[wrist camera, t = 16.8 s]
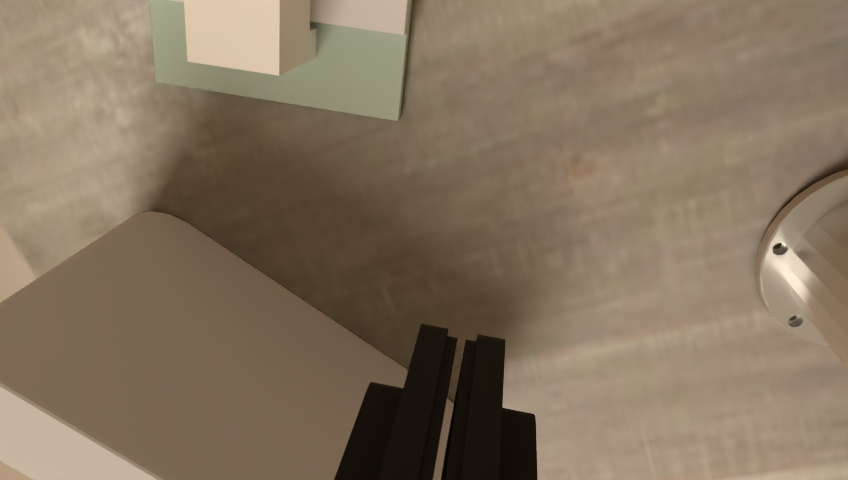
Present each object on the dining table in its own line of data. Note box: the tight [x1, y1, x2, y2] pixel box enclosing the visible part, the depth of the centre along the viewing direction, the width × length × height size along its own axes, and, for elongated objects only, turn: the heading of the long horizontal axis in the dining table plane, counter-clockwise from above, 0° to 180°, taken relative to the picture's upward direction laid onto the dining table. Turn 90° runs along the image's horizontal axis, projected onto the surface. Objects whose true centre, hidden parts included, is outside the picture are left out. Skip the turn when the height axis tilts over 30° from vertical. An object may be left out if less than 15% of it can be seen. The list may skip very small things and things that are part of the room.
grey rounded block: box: [0, 211, 454, 480], centre depth 38 cm, size 29×8×18 cm, turn 55°
